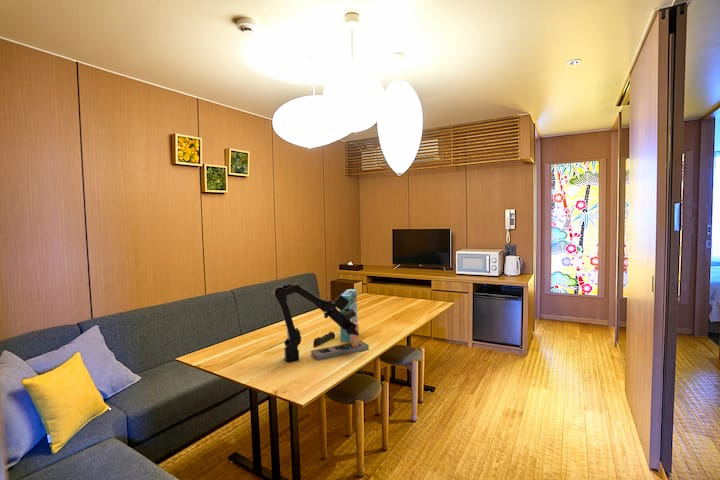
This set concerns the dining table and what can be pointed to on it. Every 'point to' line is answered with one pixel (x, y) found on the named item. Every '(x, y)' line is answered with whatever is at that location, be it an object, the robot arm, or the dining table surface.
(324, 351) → the rail
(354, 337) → the peg
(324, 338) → the hand tool
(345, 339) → the game box
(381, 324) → the dining table surface
